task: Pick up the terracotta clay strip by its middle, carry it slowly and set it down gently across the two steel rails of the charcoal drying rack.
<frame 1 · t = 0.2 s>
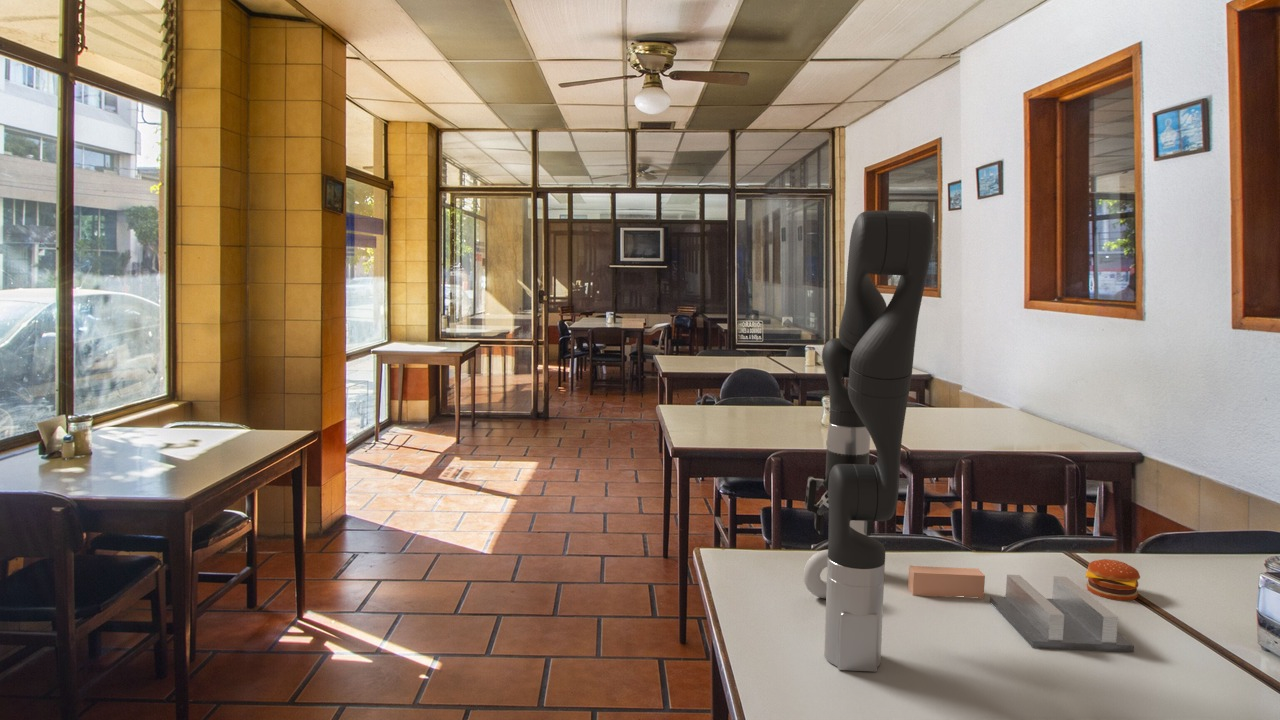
hand: (843, 533, 144), 17 cm above the table, tool pointing down, fingers open, 8 cm apart
hamburger: (1111, 593, 163), on the table
drying rack: (1056, 625, 147), on the table
donut: (826, 598, 158), on the table
clay strip: (945, 594, 162), on the table
travel mug: (850, 571, 174), on the table
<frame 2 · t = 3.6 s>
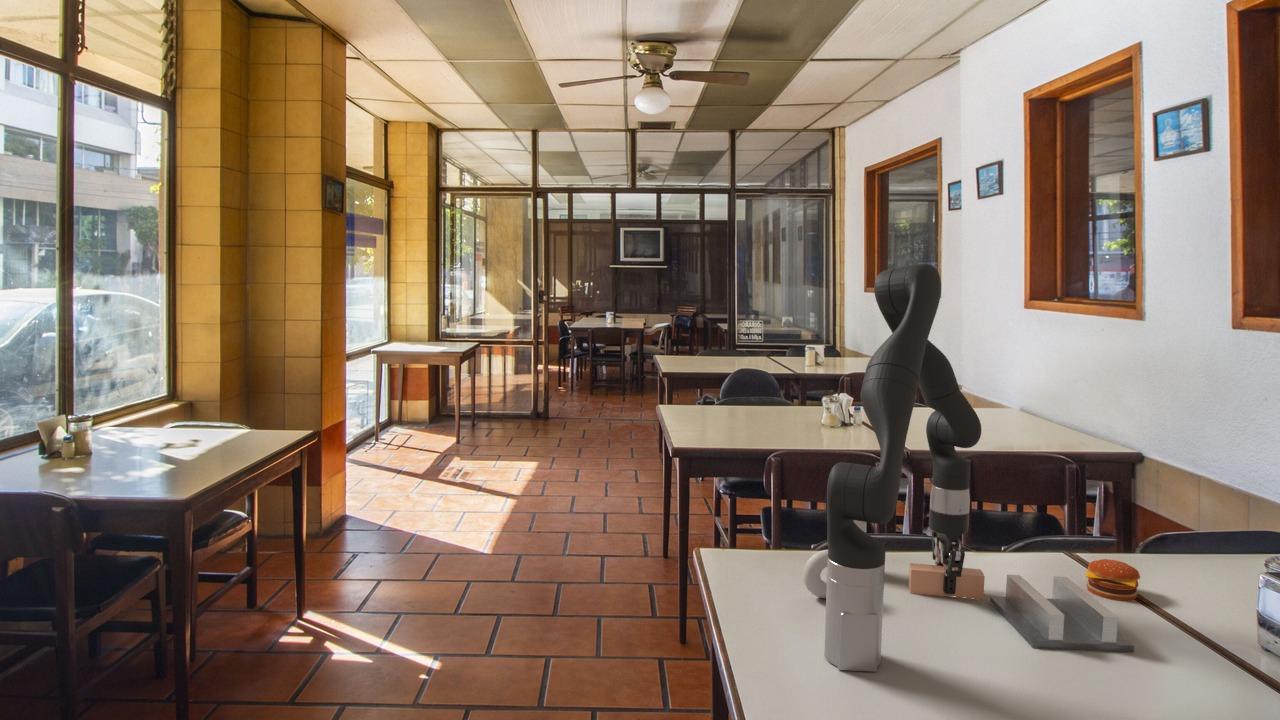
hand: (945, 588, 162), 1 cm above the table, tool pointing down, fingers closed on clay strip, 4 cm apart
clay strip: (944, 593, 162), on the table, touching gripper
everything else where it was.
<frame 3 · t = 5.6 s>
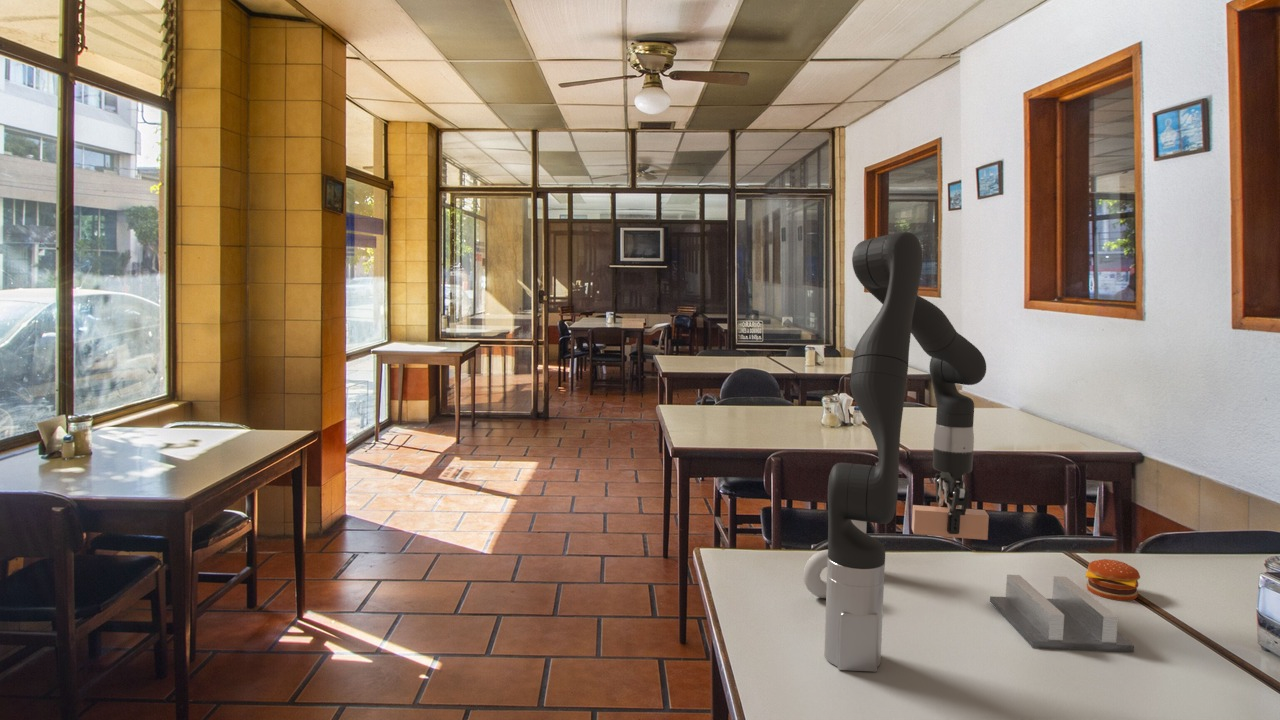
hand: (949, 529, 160), 14 cm above the table, tool pointing down, fingers closed on clay strip, 4 cm apart
clay strip: (948, 534, 160), point 13 cm above the table, touching gripper
everything else where it was.
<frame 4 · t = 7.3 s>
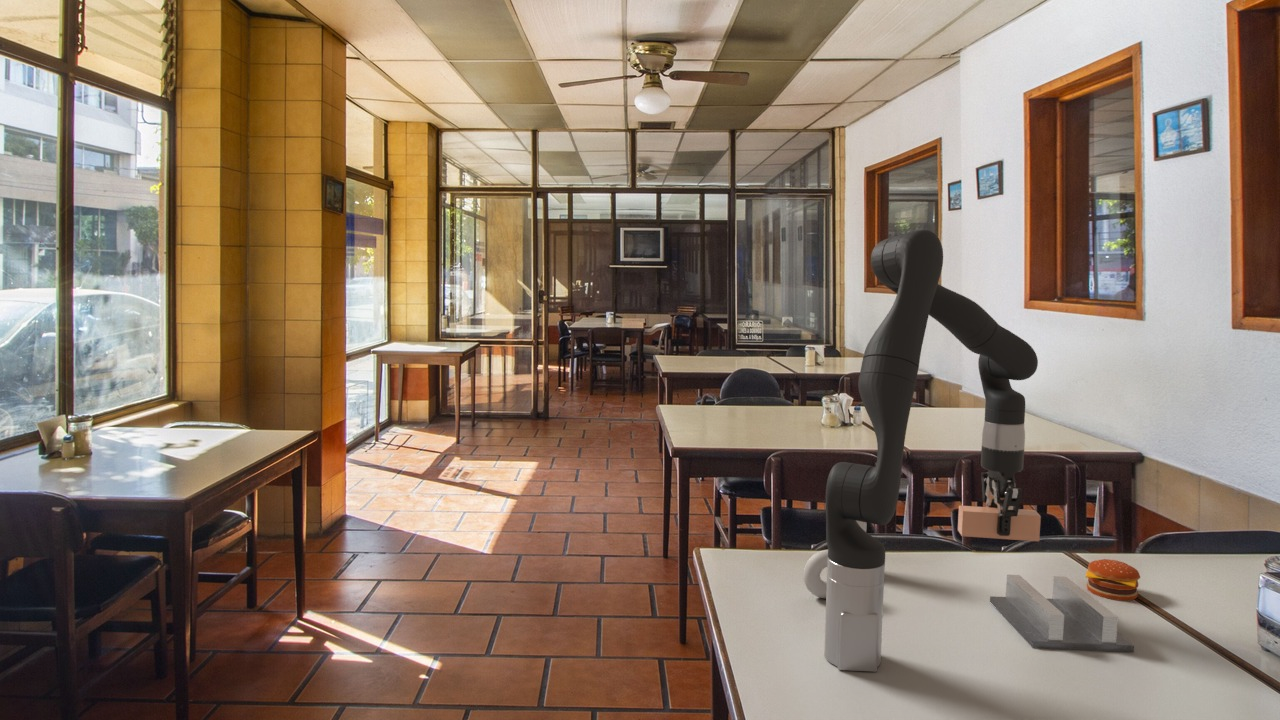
hand: (998, 530, 153), 15 cm above the table, tool pointing down, fingers closed on clay strip, 4 cm apart
clay strip: (997, 535, 153), point 14 cm above the table, touching gripper
everything else where it was.
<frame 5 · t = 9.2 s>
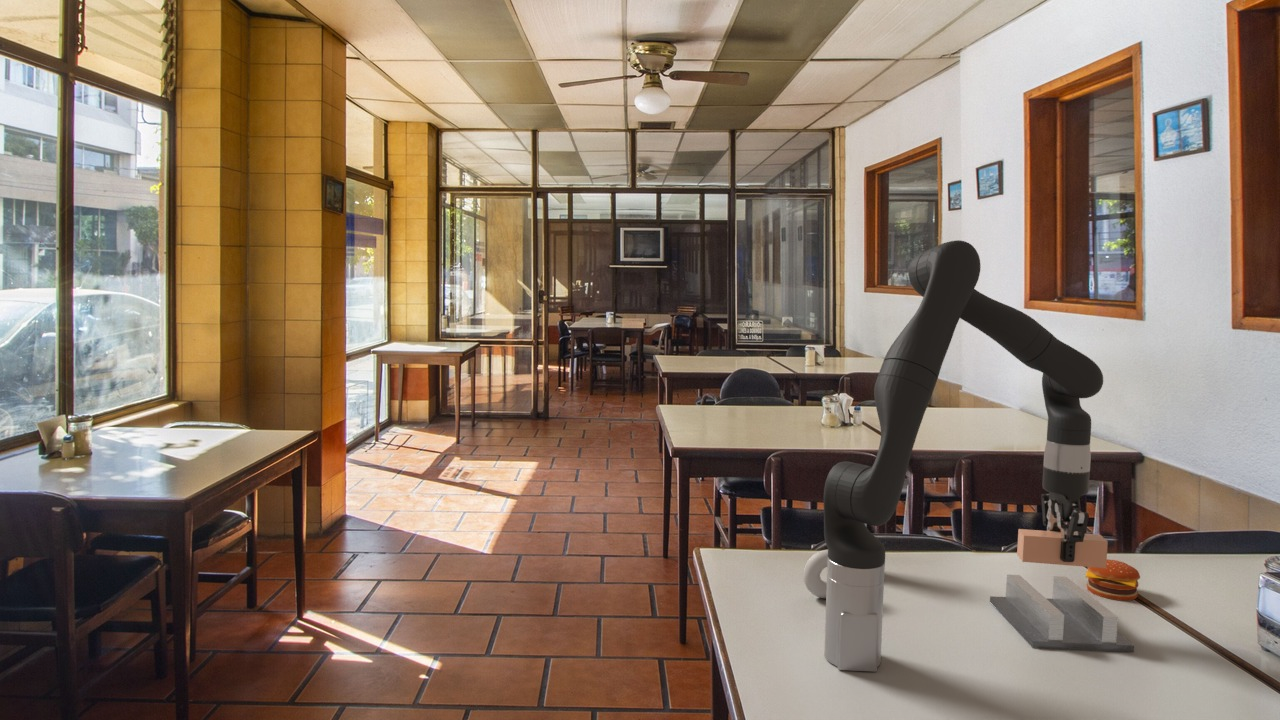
hand: (1060, 556, 145), 13 cm above the table, tool pointing down, fingers closed on clay strip, 4 cm apart
clay strip: (1060, 561, 145), point 12 cm above the table, touching gripper
everything else where it was.
when the fingers open (8 cm above the table, at t = 11.1 s): clay strip stays where it is, resting on drying rack.
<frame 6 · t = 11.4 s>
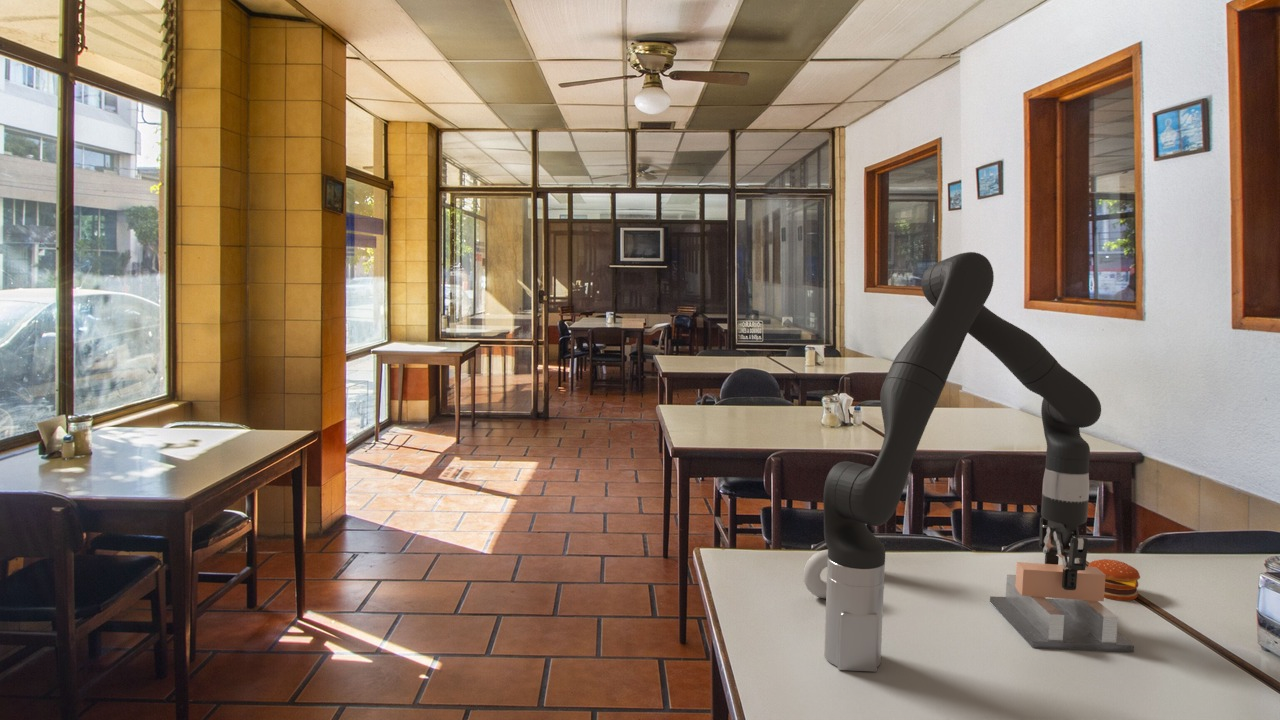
hand: (1059, 581, 146), 8 cm above the table, tool pointing down, fingers open, 6 cm apart
clay strip: (1058, 594, 146), point 6 cm above the table, touching drying rack
everything else where it was.
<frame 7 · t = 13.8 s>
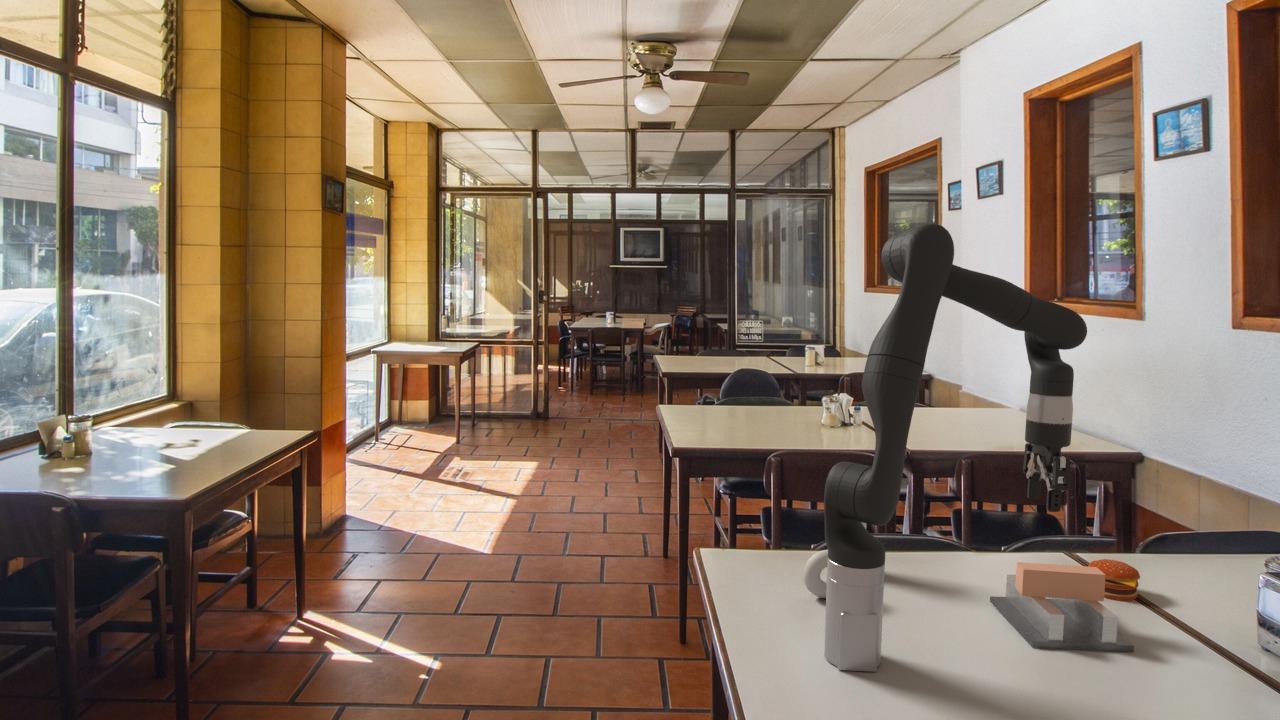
hand: (1043, 505, 146), 23 cm above the table, tool pointing down, fingers open, 8 cm apart
nothing on the table moved.
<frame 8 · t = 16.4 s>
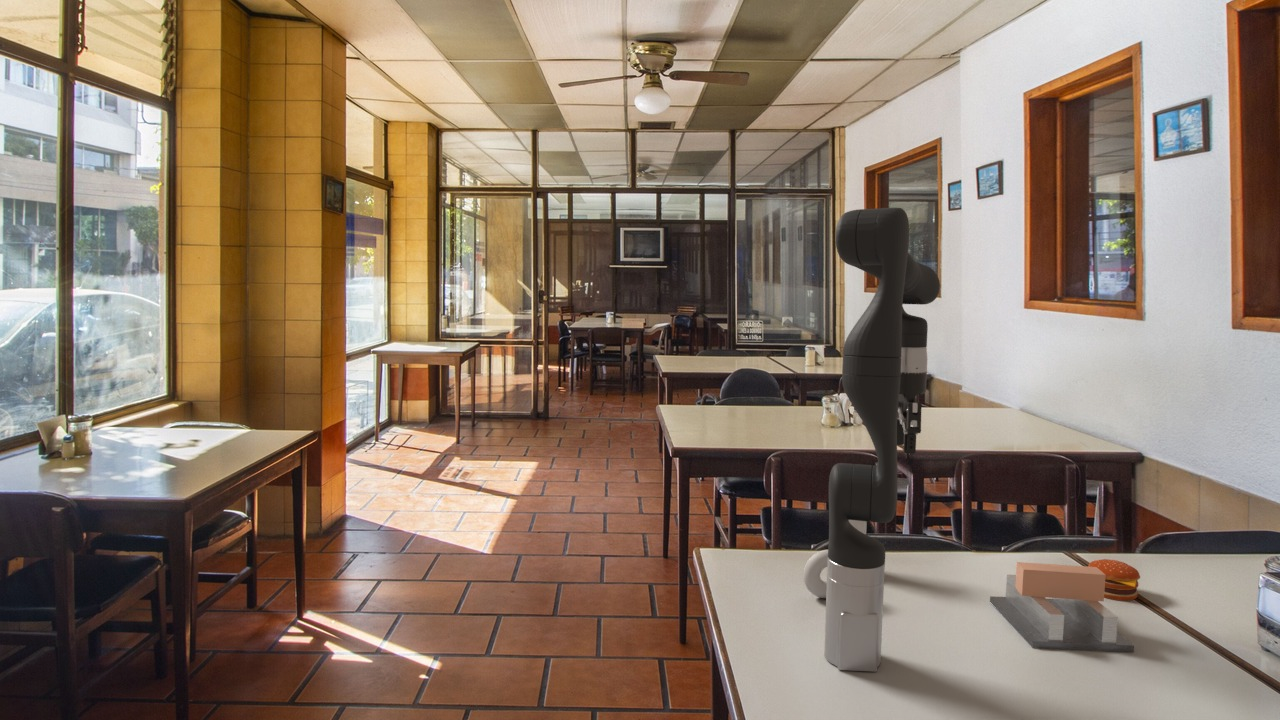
hand: (903, 448, 158), 30 cm above the table, tool pointing down, fingers open, 8 cm apart
nothing on the table moved.
at the end: clay strip 0.0 cm off-centre on the drying rack, point 6.0 cm above the drying rack's base; clay strip tilted 0°; the gripper is holding nothing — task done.
